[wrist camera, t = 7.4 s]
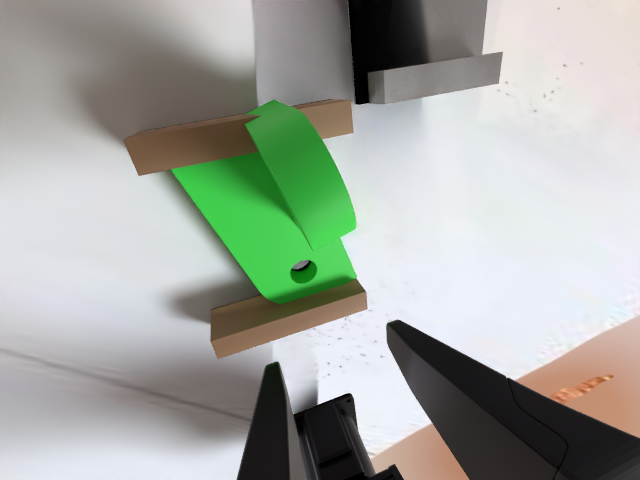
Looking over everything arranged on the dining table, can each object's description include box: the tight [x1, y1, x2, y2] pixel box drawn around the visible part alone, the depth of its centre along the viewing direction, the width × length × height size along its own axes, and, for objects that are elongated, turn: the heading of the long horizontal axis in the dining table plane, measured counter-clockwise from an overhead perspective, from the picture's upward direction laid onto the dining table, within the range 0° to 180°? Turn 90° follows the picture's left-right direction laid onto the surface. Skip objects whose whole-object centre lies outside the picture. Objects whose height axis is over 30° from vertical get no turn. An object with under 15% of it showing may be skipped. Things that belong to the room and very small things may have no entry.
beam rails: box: [123, 99, 367, 359], centre depth 18 cm, size 13×10×3 cm
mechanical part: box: [170, 100, 357, 304], centre depth 15 cm, size 12×6×8 cm, turn 24°
